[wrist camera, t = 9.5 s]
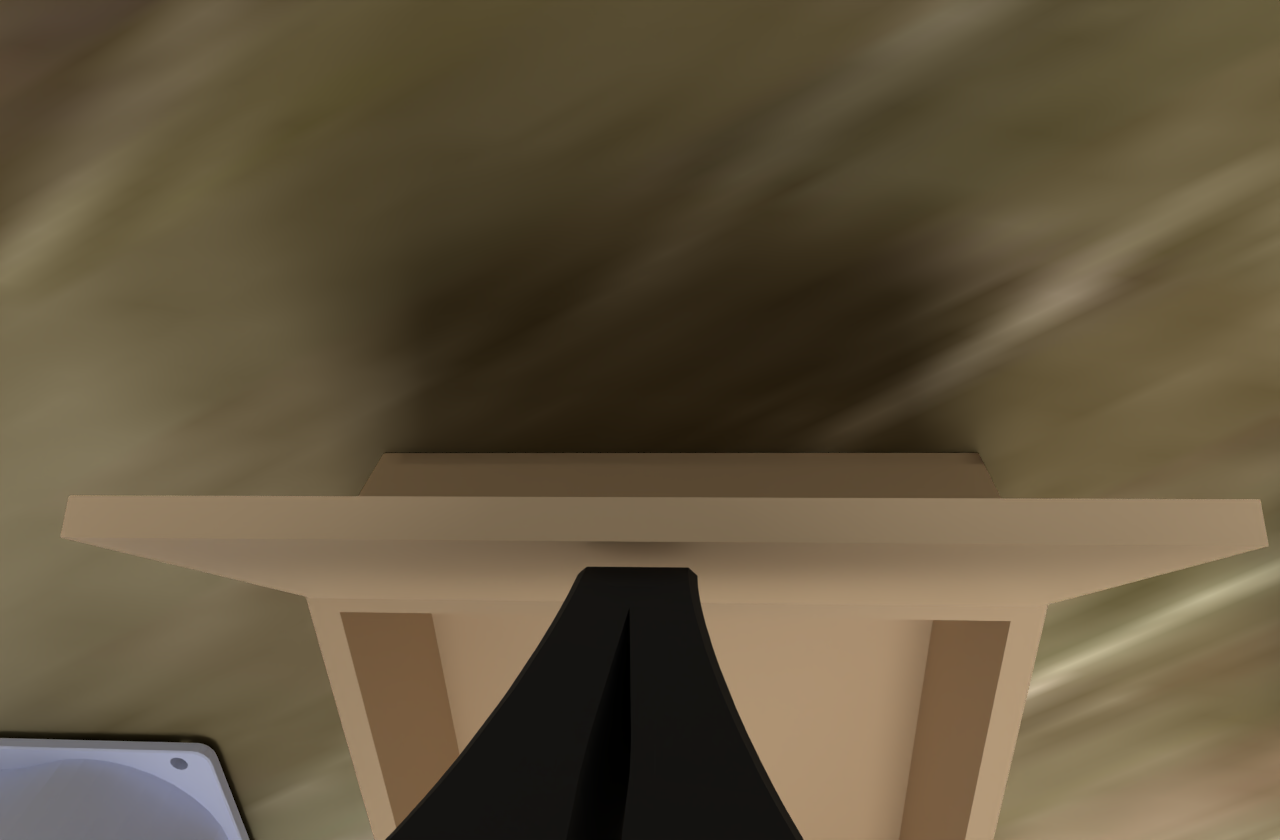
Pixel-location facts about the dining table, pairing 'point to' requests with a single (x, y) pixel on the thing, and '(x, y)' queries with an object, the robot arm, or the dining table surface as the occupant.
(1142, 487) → the dining table surface
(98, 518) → the flap
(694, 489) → the carton
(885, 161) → the dining table surface
